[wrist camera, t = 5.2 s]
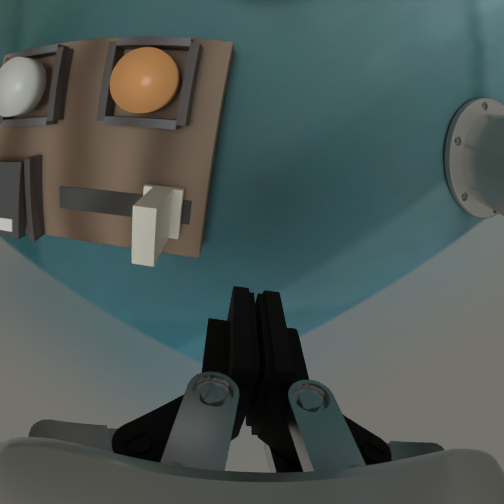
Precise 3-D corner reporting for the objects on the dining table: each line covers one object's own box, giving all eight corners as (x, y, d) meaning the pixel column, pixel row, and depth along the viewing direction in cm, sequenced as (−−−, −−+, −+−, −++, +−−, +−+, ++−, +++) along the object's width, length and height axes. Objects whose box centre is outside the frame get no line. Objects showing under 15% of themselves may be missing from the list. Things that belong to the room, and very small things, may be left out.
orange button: (187, 53, 16) (182, 48, 15) (176, 115, 18) (170, 115, 17) (125, 52, 16) (116, 47, 14) (115, 112, 18) (105, 112, 16)
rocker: (28, 161, 18) (20, 162, 17) (25, 236, 20) (17, 239, 19) (-6, 161, 18) (-14, 162, 17) (-8, 230, 19) (-16, 232, 18)
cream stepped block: (184, 188, 21) (168, 210, 16) (179, 236, 22) (165, 268, 17) (146, 184, 20) (121, 204, 16) (143, 231, 22) (121, 261, 17)
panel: (233, 51, 19) (232, 35, 15) (203, 242, 26) (196, 269, 22) (22, 57, 17) (-9, 54, 13) (16, 215, 24) (-12, 234, 19)
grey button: (51, 55, 14) (37, 52, 12) (42, 113, 16) (28, 114, 14) (10, 63, 14) (-4, 62, 12) (3, 116, 15) (-11, 118, 14)
